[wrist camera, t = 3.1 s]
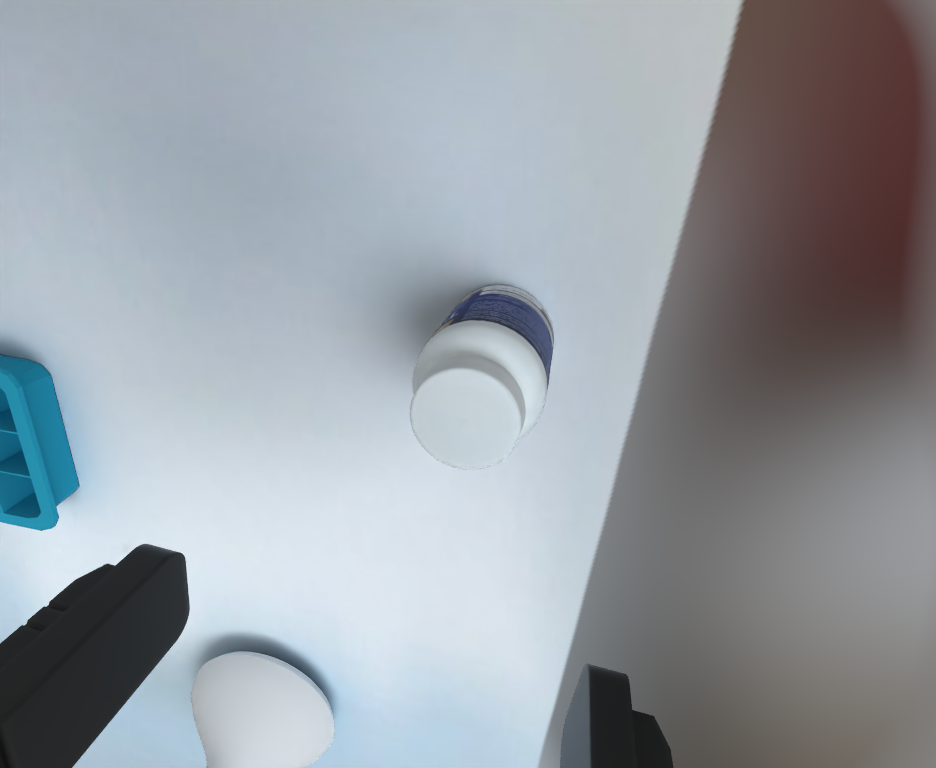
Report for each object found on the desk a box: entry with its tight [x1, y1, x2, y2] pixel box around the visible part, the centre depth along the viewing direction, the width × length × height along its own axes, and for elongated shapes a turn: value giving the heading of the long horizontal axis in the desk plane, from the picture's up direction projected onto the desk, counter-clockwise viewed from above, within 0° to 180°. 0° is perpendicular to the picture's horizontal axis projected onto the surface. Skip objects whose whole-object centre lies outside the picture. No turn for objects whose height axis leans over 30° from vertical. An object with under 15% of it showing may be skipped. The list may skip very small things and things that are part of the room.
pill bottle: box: [410, 285, 554, 470], centre depth 23 cm, size 5×5×10 cm
